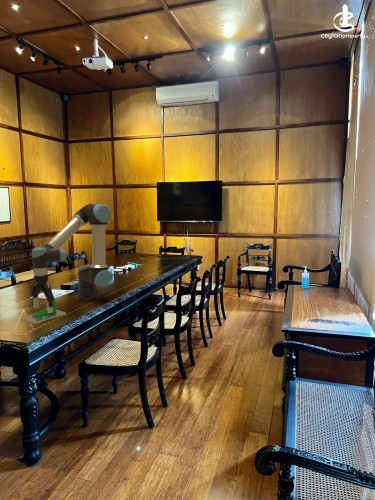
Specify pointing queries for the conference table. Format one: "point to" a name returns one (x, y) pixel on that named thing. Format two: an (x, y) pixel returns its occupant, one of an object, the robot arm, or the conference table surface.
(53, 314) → the carrier plate
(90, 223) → the robot arm
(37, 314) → the mechanical part
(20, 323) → the conference table surface
